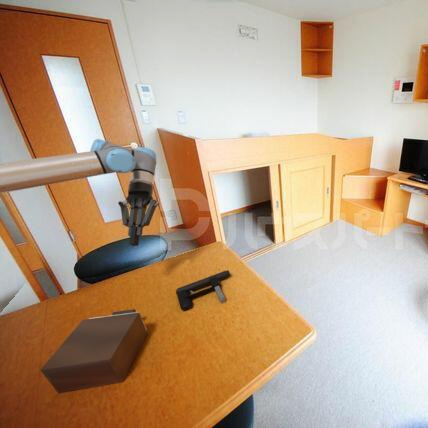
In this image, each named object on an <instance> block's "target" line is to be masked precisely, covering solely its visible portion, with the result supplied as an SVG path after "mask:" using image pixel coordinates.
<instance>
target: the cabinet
mask: <svg viewBox="0 0 428 428" xmlns="http://www.w3.org/2000/svg"><path fill="white" fill-rule="evenodd" d="M137 312H138V313H131V314H123V315H115V316H111V315H106V316H107V317H103V316H99V317H100V318H95V317H91V318H92V319H89V318H86V319H82V320H81V321H80V322H79V324H78V325H76V327H75V328H74V329H73V330H72V332H71V333H70V334H69V335H68V336H67V337H66V338H65V340H64V341H63V342H62V343H61V344H60V346H59V347H57V349H56V351H55V352H54V353H53V354H52V355H51V356H50V358H49V359H48V360H47V361H46V363H45V364H43V366H42V367H41V368H40V369H39V371H40V372H41V373H42V374H43V376H44V377H45V378H46V379H47V381H48V382H49V383H50V385H51V386H52V387H53V388H54V390H55V391H56V392H57V394H64V393H69V392H75V391H80V390H86V389H91V388H97V387H98V388H99V387H103V386H108V385H109V386H110V385H115V384H120V383H124V382H125V380H126V378H127V377H128V375H129V372H130V370H131V369H132V366H133V364H134V363H135V360H136V358H137V357H138V355H139V353H140V351H141V349H142V347H143V345H144V343H145V341H146V339H147V338H148V335H149V334H148V333H149V332H148V330H146V329H147V327H146V328H145V326H146V325H145V326H144V324H145V323H144V324H143V321H144V320H143V321H142V319H143V318H142V319H141V317H142V316H141V317H140V314H141V313H140V314H139V312H140V311H137Z"/></svg>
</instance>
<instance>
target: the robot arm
mask: <svg viewBox="0 0 428 428" xmlns="http://www.w3.org/2000/svg"><path fill="white" fill-rule="evenodd" d="M156 169H157V154H156V152H155V151H154V150H153V149H151V148H148V147H144V146H143V147H142V146H138V147H135V148H134V149H131V148H128V147H124V146H121V145H119V144H116V143H113V142H110V141H109V140H104V139H100V138H95V139H94V141H93V142H92V144H91V147H90V150H89V151H83V152H76V153H67V154H60V155H53V156H45V157H37V158H30V159H21V160H13V161H8V162H7V161H6V162H0V194H5V193H12V192H16V191H23V190H27V189H32V188H38V187H44V186H48V185H49V186H50V185H54V184H55V185H56V184H59V183H64V182H65V183H66V182H70V181H76V180H81V179H85V178H93V177H97V176H102V175H107V174H108V175H109V174H115V173H117V174H128V173H130V175H129V184H128V190H127V196H126V198H125V200H123V201H121V200H120V201H118V203H117V204H118V205H119V207H120V213H121V220H122V225H123V226H125V227H127V228H128V231H127V236H128V237H129V242H128V245H129V246H132V247H137V246H139V244H140V243H139V242H140V237H141V236H142V235H143V230H144V227H148V226H150V225H151V221H152V220H153V216H154V213H155V212H156V209H157V207H158V206H159V205H160V202H159V201H158V200H157V199H154V197H153V195H154V194H153V193H154V184H155V174H156ZM129 208H130V211H129Z"/></svg>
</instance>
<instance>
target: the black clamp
mask: <svg viewBox="0 0 428 428" xmlns="http://www.w3.org/2000/svg"><path fill="white" fill-rule="evenodd" d="M230 276H231V272H230V270H229V269H227V270H223V271H219V272H218V273H215V274H213V275H209V276H207V277H204V278H202V279H199V280H196V281H194V282H191V283H188V284H185V285H182V286H179V287H178V288H177V289H176V290H175V295H176V296H177V300H178V303H179V304H178V305H179V307H180V310H181V311H187V310H190V309H191V308H192V307H193V300H195V299H197V298H201V297H203V296H205V295H208V294H210V293H215V292H216V296H217V297H218V300H219V302H220V304H224V303H226V302H227V301H226V297H225V294H224V293H223V291H222V285H221V283H220V282H221V281H222V280H224V279H227V278H229V277H230ZM209 285H210V287H207V286H209ZM204 287H207V288H205V289H204ZM201 288H203V289H202V290H199V289H201ZM196 290H199V291H197V292H195V291H196ZM190 293H191V294H190Z"/></svg>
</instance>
